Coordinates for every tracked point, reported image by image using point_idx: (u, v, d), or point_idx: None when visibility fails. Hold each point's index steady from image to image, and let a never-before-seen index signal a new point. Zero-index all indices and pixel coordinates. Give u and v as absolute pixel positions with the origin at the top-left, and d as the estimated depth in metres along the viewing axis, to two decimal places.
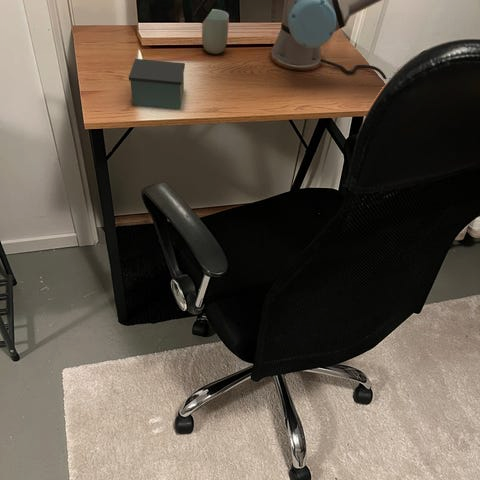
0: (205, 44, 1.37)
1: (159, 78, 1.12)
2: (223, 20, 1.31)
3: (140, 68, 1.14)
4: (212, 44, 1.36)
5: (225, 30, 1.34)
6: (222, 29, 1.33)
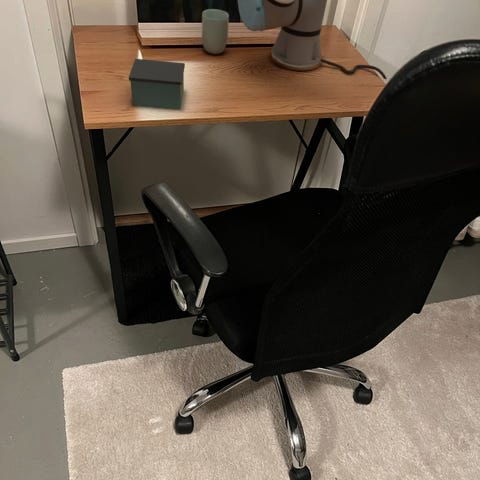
0: (205, 44, 1.37)
1: (159, 78, 1.12)
2: (223, 20, 1.31)
3: (140, 68, 1.14)
4: (212, 44, 1.36)
5: (225, 30, 1.34)
6: (222, 29, 1.33)
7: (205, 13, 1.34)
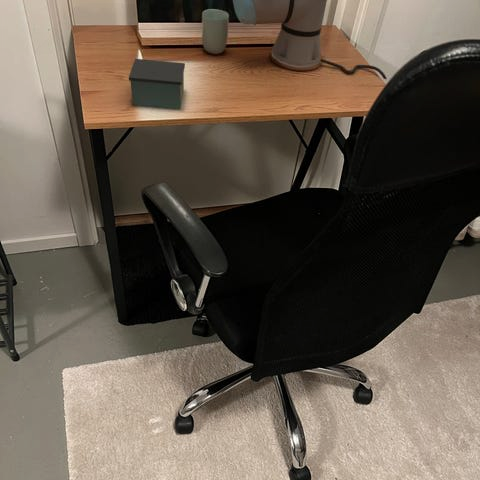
0: (205, 44, 1.37)
1: (159, 78, 1.12)
2: (223, 20, 1.31)
3: (140, 68, 1.14)
4: (212, 44, 1.36)
5: (225, 30, 1.34)
6: (222, 29, 1.33)
7: (205, 13, 1.34)
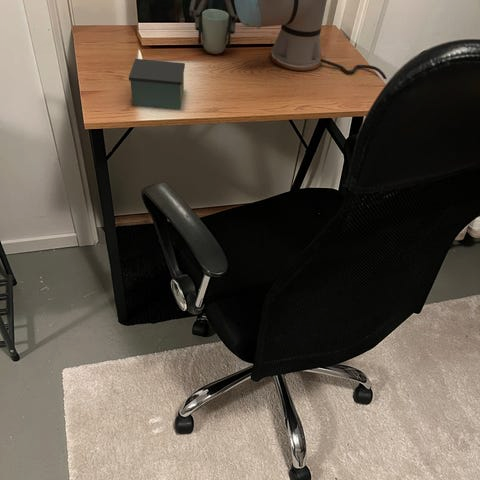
0: (205, 44, 1.37)
1: (159, 78, 1.12)
2: (223, 20, 1.31)
3: (140, 68, 1.14)
4: (212, 44, 1.36)
5: (225, 30, 1.34)
6: (222, 29, 1.33)
7: (205, 13, 1.34)
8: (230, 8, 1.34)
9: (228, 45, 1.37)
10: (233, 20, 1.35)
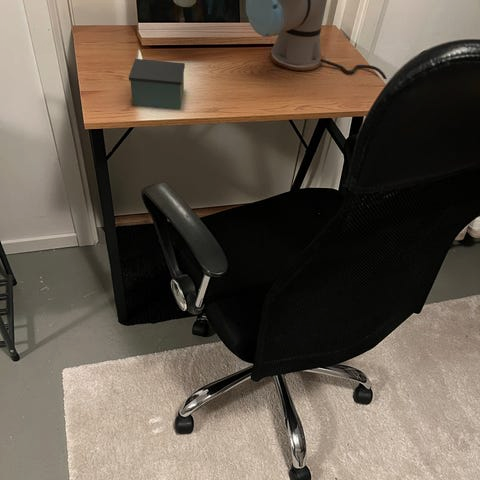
0: None
1: (159, 78, 1.12)
2: None
3: (140, 68, 1.14)
4: None
5: None
6: None
7: None
8: None
9: None
10: None
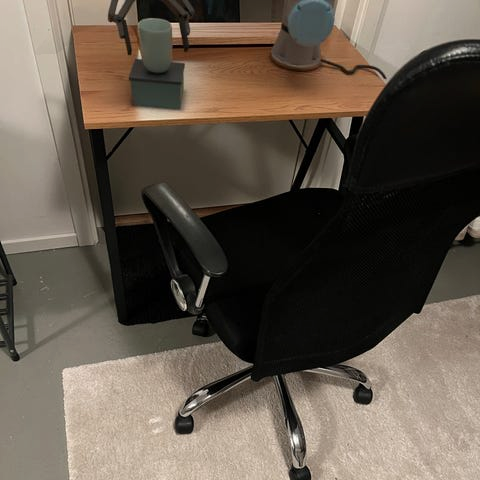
0: (148, 63, 1.10)
1: (159, 78, 1.12)
2: (168, 31, 1.06)
3: (140, 68, 1.14)
4: (158, 62, 1.10)
5: (171, 42, 1.09)
6: (168, 42, 1.08)
7: (141, 25, 1.07)
8: (177, 6, 1.08)
9: (186, 50, 1.12)
10: (186, 18, 1.10)
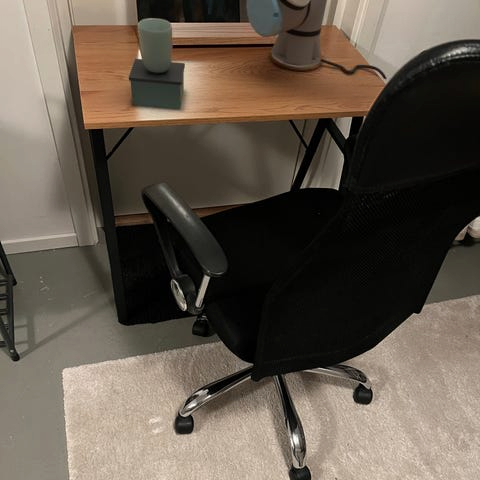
0: (148, 63, 1.10)
1: (159, 78, 1.12)
2: (168, 31, 1.06)
3: (140, 68, 1.14)
4: (158, 62, 1.10)
5: (171, 42, 1.09)
6: (168, 42, 1.08)
7: (141, 25, 1.07)
8: None
9: None
10: None
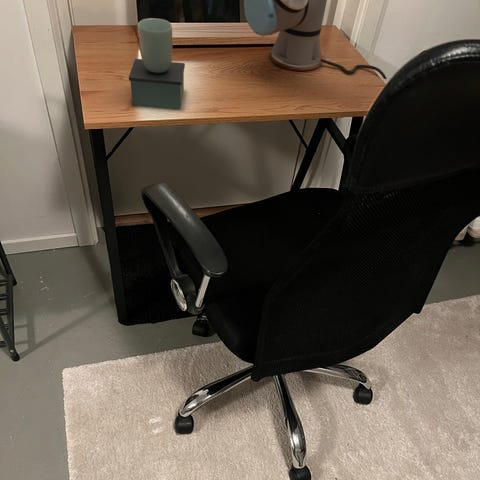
0: (148, 63, 1.10)
1: (159, 78, 1.12)
2: (168, 31, 1.06)
3: (140, 68, 1.14)
4: (158, 62, 1.10)
5: (171, 42, 1.09)
6: (168, 42, 1.08)
7: (141, 25, 1.07)
8: None
9: None
10: None
